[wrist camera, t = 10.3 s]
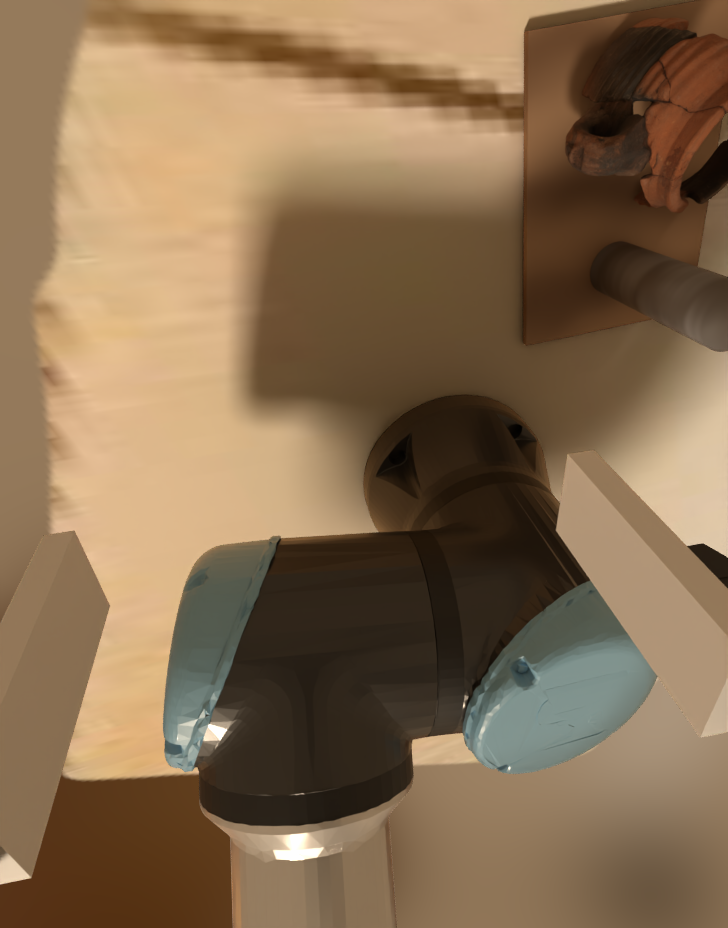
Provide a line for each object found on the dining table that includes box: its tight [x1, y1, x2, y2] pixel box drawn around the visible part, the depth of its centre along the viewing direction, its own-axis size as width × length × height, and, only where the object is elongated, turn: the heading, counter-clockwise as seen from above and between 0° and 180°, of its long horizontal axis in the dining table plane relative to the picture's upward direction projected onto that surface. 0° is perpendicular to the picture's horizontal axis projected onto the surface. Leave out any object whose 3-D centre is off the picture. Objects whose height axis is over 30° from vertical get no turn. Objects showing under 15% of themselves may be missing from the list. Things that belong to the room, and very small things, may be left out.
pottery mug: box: [565, 18, 728, 213], centre depth 33 cm, size 12×10×8 cm
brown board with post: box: [523, 0, 728, 352], centre depth 33 cm, size 19×13×13 cm
